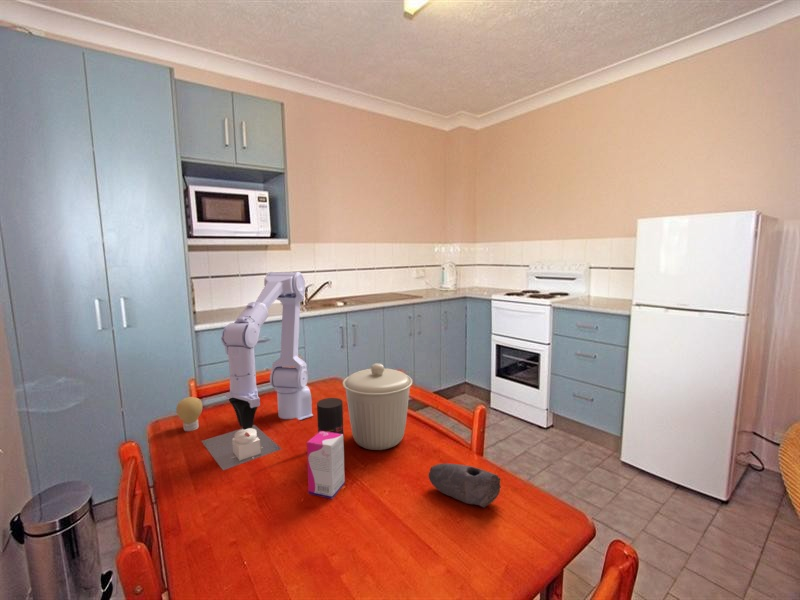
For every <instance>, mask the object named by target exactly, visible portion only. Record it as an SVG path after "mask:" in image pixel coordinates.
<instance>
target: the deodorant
mask: <svg viewBox="0 0 800 600" xmlns="http://www.w3.org/2000/svg"><path fill="white" fill-rule="evenodd" d="M316 411H317V412H316V413H317V414H316V415H317V417H316V419H317V434H318V433H319V432H320V431H325V432H331V433H338V434H343V444H344V445H345V442H344V440H345V439H344V406H343V400H342V399H340V398H337V397H327V398H322V399H320V400H318V401H317V403H316Z"/></svg>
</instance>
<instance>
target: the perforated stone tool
mask: <svg viewBox="0 0 800 600" xmlns="http://www.w3.org/2000/svg"><path fill="white" fill-rule="evenodd" d="M428 479H429V482H430V483H431V484H432V486H433V487H434V488H435V489H436V490H437V491H439V492H440V493H442V494H443V495H446V496H448V497H449V496H450V497H452V498H453V499H455V500H458V501H460V502H461V503H464V504H468V505H476V506H479V507H481V508H486V507H487V506H488V505H490V504H491V503H493V502H494V501H495V500H496V499H497V498H498V496H499V494H500V490H501V488H502V486H501V477H499V476H498V475H497V474H496V473H493V472H490V471H486V470H485V469H481V468H478V467H475V466H470V465H465V464H459V463H457V464H456V463H438V464H435V465H433V466H431V467H430V469H429V472H428Z"/></svg>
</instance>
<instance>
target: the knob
mask: <svg viewBox="0 0 800 600" xmlns="http://www.w3.org/2000/svg"><path fill="white" fill-rule="evenodd" d="M241 429H242V428H241ZM238 430H239V429H238ZM234 436H235V438H233V439H232V443H233V453H234V454H235V455H236V457H237V458H238V459H239V460H243V459H246V458H249V457H252V456H255V455H257V454H260V453H261V449H260V439H259V438H258V437H257V431H256V430H255V429H252V428H248V429H245V430H244V429H242V430H239V431H237V432H236V433H235V435H234Z"/></svg>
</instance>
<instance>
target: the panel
mask: <svg viewBox="0 0 800 600" xmlns="http://www.w3.org/2000/svg"><path fill="white" fill-rule="evenodd" d="M242 429H243V428H242V427H241V428H240V429H236V430H233V431H229V432H226V433H224V434H220V435H216V436H213V437H210V438H207V439H203V440H201V441H200V442H201V443H202V444H203V446H204V447H205V448H206V450H207V451H208V452H209V454H210V455H211V456H212V458H213V459H214V461H215V462H216V463H217V465H218V466H219V467H220V469H221V470H222V471H226V470H228V469H230V468H234V467H236V466H239V465H242V464H244V463H247V462H251V461H253V460H255V459H259V458H261V457H264V456H267V455H269V454H273V453H274V452H278V451H281V450H282V448H281V447H280V446H279V445H278V444H277V442H275V441H274V440H273V439H271V438H270V437H269V436H268V435H267V434H265V433H264V432H263V431H262V430H261V429H260V428H259V427H258V426H257V425H255V424H253V426H252V429H255V430H256V431H257V437H258V438H259V439H260V449H261V453H260V454H257V455H255V456H252V457H249V458H246V459H243V460H239V459H238V458H237V457H236V455H235V454H234V453H233V443H232V439H233V438H235V436H234V435H235V433H236V432H237V431H239V430H242Z"/></svg>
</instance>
